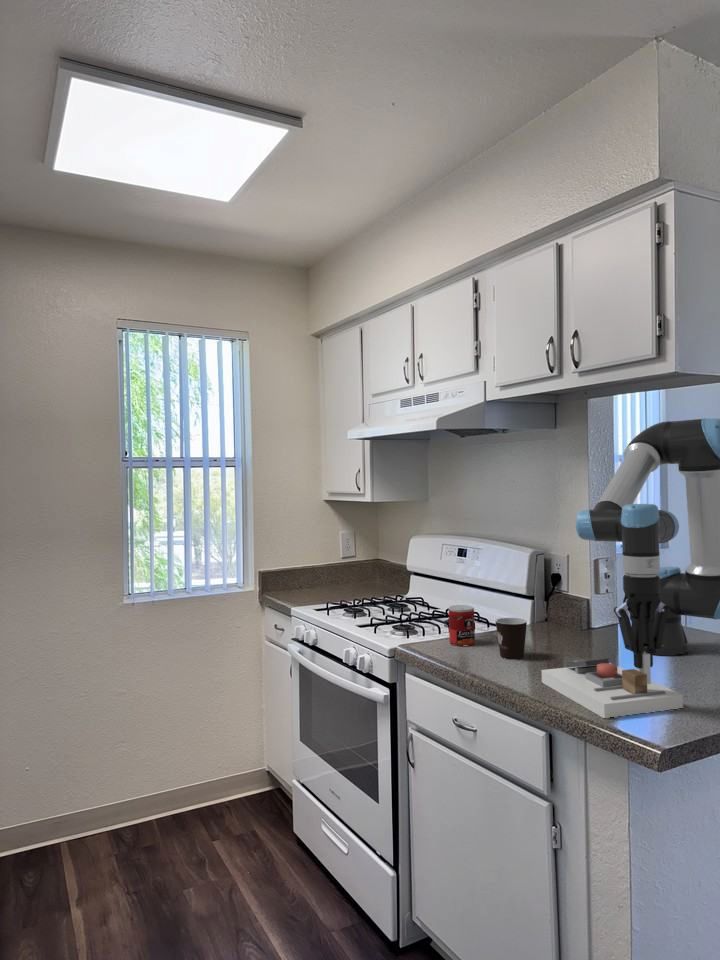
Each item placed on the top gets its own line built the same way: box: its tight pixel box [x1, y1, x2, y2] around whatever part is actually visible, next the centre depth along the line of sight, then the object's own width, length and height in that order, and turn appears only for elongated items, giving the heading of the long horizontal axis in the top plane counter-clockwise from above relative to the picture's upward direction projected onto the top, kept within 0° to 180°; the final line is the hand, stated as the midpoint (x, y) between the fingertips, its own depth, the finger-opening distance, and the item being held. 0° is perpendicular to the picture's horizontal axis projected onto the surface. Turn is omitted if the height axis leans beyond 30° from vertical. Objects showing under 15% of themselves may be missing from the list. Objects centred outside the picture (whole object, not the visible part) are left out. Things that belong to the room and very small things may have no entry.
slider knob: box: [622, 668, 647, 694], centre depth 147 cm, size 3×4×4 cm
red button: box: [597, 662, 618, 677], centre depth 154 cm, size 4×4×2 cm
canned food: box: [448, 604, 476, 646], centre depth 205 cm, size 8×8×11 cm
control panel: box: [541, 662, 684, 719], centre depth 154 cm, size 19×26×4 cm
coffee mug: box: [495, 617, 528, 660], centre depth 190 cm, size 12×9×10 cm
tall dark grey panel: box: [565, 658, 610, 668], centre depth 162 cm, size 6×9×1 cm, turn 14°
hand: (643, 682), depth 147 cm, fingers closed
